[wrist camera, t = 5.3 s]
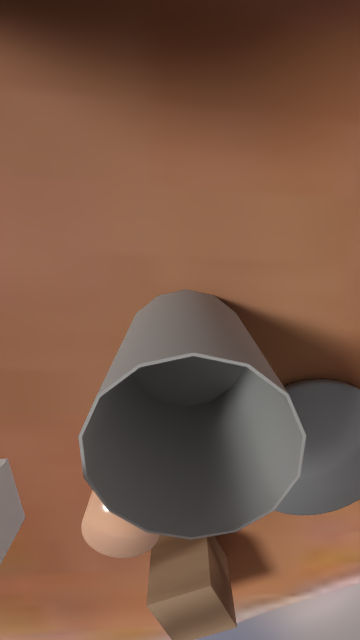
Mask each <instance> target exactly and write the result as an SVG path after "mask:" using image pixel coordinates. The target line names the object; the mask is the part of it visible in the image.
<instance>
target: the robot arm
mask: <svg viewBox="0 0 360 640" xmlns="http://www.w3.org/2000/svg"><path fill="white" fill-rule="evenodd" d="M24 519H25V515H24V511H23V508H22V505H21V501H20V498H19V495H18V491H17V488H16V485H15V481H14V478H13V475H12V471H11V468H10V464H9V461H8V459H0V564H1V562H2V560H3V559H4V557H5V555H6V553H7V551H8V549H9V547H10V545H11V544H12V542H13V540H14V538H15V536H16V534H17V532H18V531H19V529H20V527H21V525H22V523H23V521H24Z"/></svg>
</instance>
